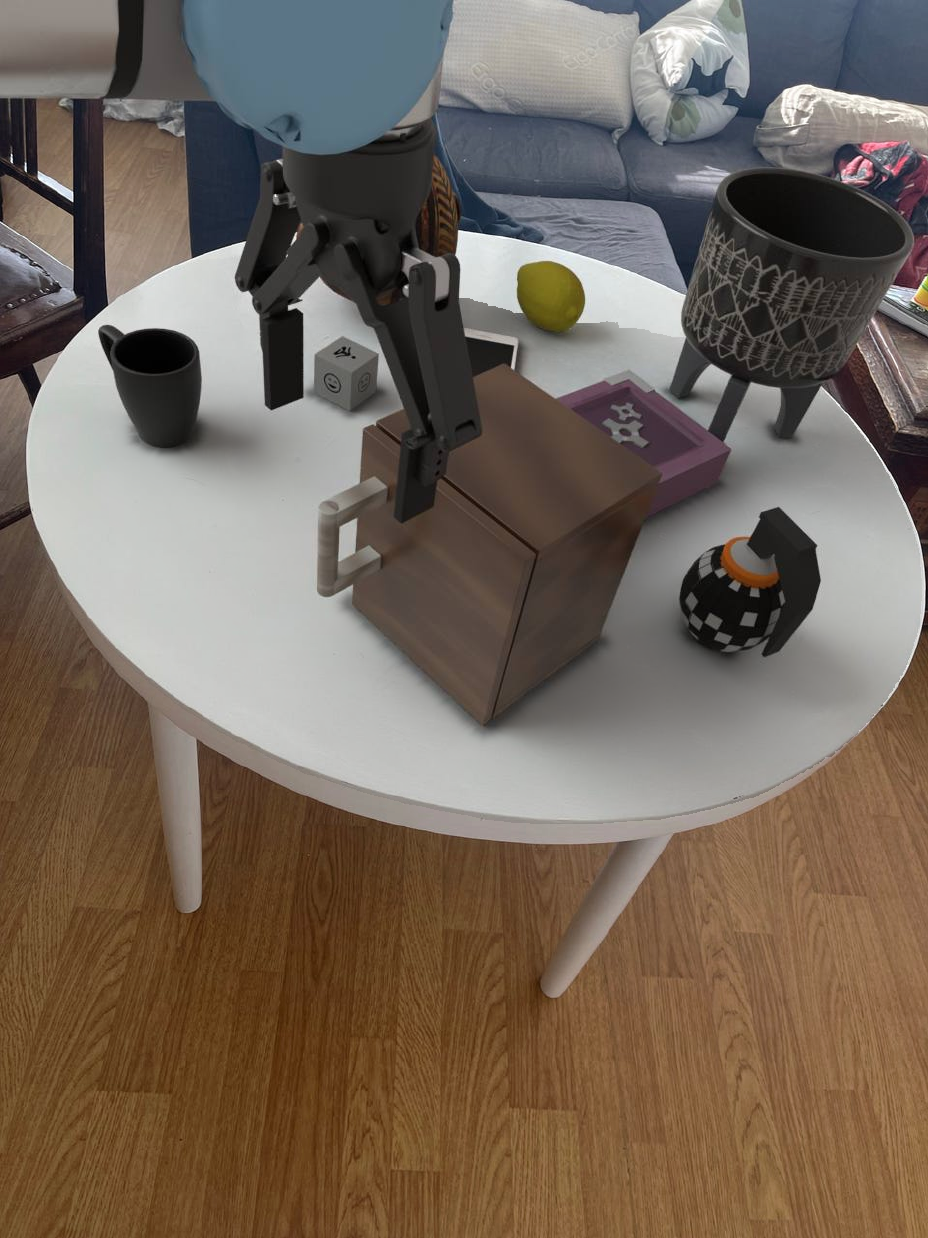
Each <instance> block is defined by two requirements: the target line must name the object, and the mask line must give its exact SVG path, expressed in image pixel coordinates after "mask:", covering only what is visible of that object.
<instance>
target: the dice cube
mask: <svg viewBox="0 0 928 1238" xmlns="http://www.w3.org/2000/svg"><path fill="white" fill-rule="evenodd" d="M313 355H314V358H313V360H314V361H313V373H314V375H313V394H315V395H317V396H319V397H321V398H323V399H324V400H327V401H329V402H331V403H332V404H334V405H337V406H338V407H340V408H342V409H345V410H346V411H348V412H352V410H354V409H355V408H356V407H358V406H359V405H361V404H362V403H363V402H364V401H366V400H367V399H368V398H370V397H371V396H373V395H374V394H375V393H377V385H378V372H379V371H378V370H379V357H380V356H379V355H380V353H378V352H376V351H374V350H372V349H370V348H368V347H366V346H364V345H362V344H360V343H358V342H355V341H353V340H351V339H349V338H348V337H346V336H344V335H342V336H340V337H339V338H337V339H335V340H333V342H331V343H329V344H328V345H327V346H325V347H324V348H322V349H320V350H319V351H318V352H316V353H314V354H313Z"/></svg>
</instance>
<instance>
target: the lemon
mask: <svg viewBox="0 0 928 1238" xmlns="http://www.w3.org/2000/svg"><path fill="white" fill-rule="evenodd" d="M516 275H517V277H516V281H517V286H516V299H517V302H518V305H519V308H520V311H522V313H523V314H524V316H525V317H526V319H527V320H528V321H529V322H530V323H531V324H532V325H534V326H536V327H537V328H539V329H542V330H545V331H548V332H556V333H558V332H559V333H561V332H565V331H568V330H570V329H572V328H573V327H574V326H575V325H576V324H577V323H578V321H579V320H580V319H581V317H582V315H583V313H584V309H585V306H586V294H585V289H584V286H583V283H582V282H581V279H580V278H579V277H578V275H577V274H576V273H575V272H574V271H573V270H571V269H570V268H569V267H567V266H565V265H563V264H561V263H559V262H555V261H551V260H540V261H534V262H529V263H525V264H523V265H521V266H520V267H519V269H518V271H517V274H516Z"/></svg>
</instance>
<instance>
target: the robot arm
mask: <svg viewBox="0 0 928 1238" xmlns="http://www.w3.org/2000/svg"><path fill="white" fill-rule="evenodd" d="M453 4H454V0H0V99H71V100H72V99H73V100H74V99H76V100H77V99H79V100H81V99H89V100H91V99H93V100H94V99H95V100H97V99H99V100H101V99H102V100H103V99H104V100H113V99H114V100H117V99H118V100H120V99H121V100H146V101H147V100H148V101H171V102H172V101H176V102H177V101H178V102H179V101H180V102H182V101H183V102H216V103H217V105H218V107H219V108H220V110H221V111H222V112H223V113H224V114H225V115H226V116H227V117H228V118H229V119H231V120H232V121H233V122H234V123H236V124H237V125H240V126H242V127H243V128H245V129H248V130H252V131H255V132H257V133H258V134H259V135H260V136H262V137H263V138H264V139H266V140H268V141H270V142H273V143H275V144H277V145H279V146H281V147H282V148H281V149H282V158H279V159H275V160H272V161H267V162H264V163H262V164H261V165H260V181H259V182H260V183H259V184H260V185H259V200H258V202H257V205H256V209H255V211H254V215H253V218H252V221H251V223H250V227H249V231H248V233H247V237H246V240H245V243H244V246H243V249H242V253H241V256H240V259H239V262H238V264H237V268H236V271H235V274H234V283H235V285H236V287H237V289H238V290H239V292H241V293H247V292H248V293H249V294H250V295H251V296H252V297H251V303H252V307H253V309H254V311H255V313H256V314H257V315H258V316H259V317H258V319H259V343H260V344H259V345H260V349H261V352H262V369H263V370H262V373H263V397H264V398H263V399H264V406H265V407H266V408H268V409H269V410H270V411H274V410H277V409H280V408H281V407H284V406H286V405H289V404H291V403H295V402H297V401H299V400H302V399H304V395H305V394H304V390H305V389H304V387H305V386H304V380H305V379H304V377H305V376H304V375H305V374H304V313H303V312H302V311H301V310H300V309H298V308H296V307H295V308H292V309H289V306H292V305H295V304H297V303H301V302H303V299H302V298H301V297H302V295H303V294H305V292H306V291H307V290H308V289H309V288H310V287H311V286H312V285H313V284H315V282H316V281H317V280H319V278H320V276H321V275H322V279H323V280H325V281H326V282H327V283H329V284H330V285H333V286H336V287H339V288H340V289H341V290H342V291H343V293H344V294H345V295H346V296H347V297H348V298H349V299H350V300H352V301H351V302H352V303H354V304H356V306H357V309H358V311H359V314H360V317H361V319H362V321H363V323H364V324H365V325H366V326H368V327H369V328H372V329H373V330H374V333H375V335H376V337H377V340H378V343H379V346H380V348H381V351H382V354H383V357H384V359H385V362H386V365H387V367H388V370H389V372H390V375H391V378H392V380H393V383H394V386H395V388H396V390H397V391H396V392H397V394H398V397H399V399H400V402H401V404H402V407H403V409H404V410H405V413H406V415H407V418H408V421H409V423H410V426H411V429H410V430H408V431H405V432H403V433H402V437H401V447H400V457H399V467H398V477H397V488H396V498H395V508H394V518H395V519H396V520H398V521H399V522H400V523H401V524H402V523H404V522H406V521H408V520H410V519H412V518H413V517H415V516H417V515H419V514H421V513H423V512H425V511H427V510H429V509H431V508H432V507H434V501H435V494H436V487H437V481H438V480H440V479H442V478H443V477H444V475H445V474H446V468H447V462H448V461H447V460H448V455H449V452H450V451H452V450H454V449H456V448H458V447H460V446H462V445H464V444H466V443H468V442H470V441H472V440H474V439H476V438H478V437H480V436H481V435H482V425H481V419H480V414H479V408H478V403H477V397H476V392H475V387H474V381H473V376H472V370H471V365H470V359H469V354H468V349H467V343H466V338H465V332H464V328H465V326H464V323H463V317H462V310H461V306H460V289H461V287H460V285H461V264H460V260H459V258H458V257H457V256H456V255H454V254H452V253H448V254H445V255H442V256H439V257H434V256H432V255H430V254H428V253H426V252H424V251H422V250H420V249H419V246H418V241H417V237H416V230H415V222H416V218H417V216H418V214H419V212H420V210H421V208H422V207H423V205H424V203H425V202H426V200H427V198H428V196H429V194H430V190H431V182H432V172H433V162H434V153H435V152H436V151H435V150H436V142H437V133H438V132H437V126H436V124H435V122H434V121H433V119H432V117H433V116H434V115H435V114H436V113H437V112H438V109H439V105H440V97H441V96H440V95H441V85H442V74H443V66H444V56H445V50H446V46H447V42H448V40H449V34H450V26H451V24H452V20H453V19H454V17H453V16H454V14H455V12H453V11H454V10H453V7H454V6H453ZM301 223H302V224H303V228H302V230H301V231H300V233H301V234H300V235H299V237H298V238H297V239H296V238H295V236H296V234H297V231H298V228H299V226H300V224H301ZM294 238H295V240H294ZM396 287H397V288H398V291H399V294H400V300H399V301H396V302H393V303H390V304H388V305H385V306H382V305H380V304H379V303H378V301H377V299H379V298H382V297H385V296H387V295H389V294H390V293H391V292H392V291H393V290H394V289H395V288H396ZM300 298H301V299H300ZM350 300H349V301H350ZM429 413H430V414H431V418H429V419H428V415H429Z"/></svg>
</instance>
